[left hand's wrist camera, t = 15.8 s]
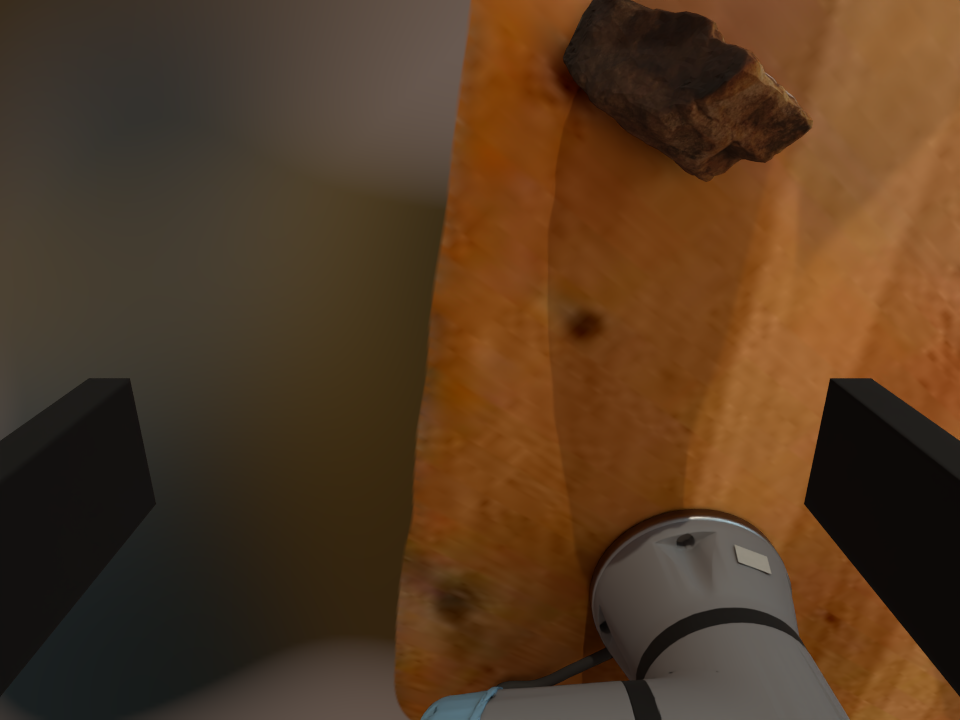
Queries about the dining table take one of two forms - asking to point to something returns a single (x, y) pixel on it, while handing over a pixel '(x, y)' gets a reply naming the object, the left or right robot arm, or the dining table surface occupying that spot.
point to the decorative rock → (682, 87)
